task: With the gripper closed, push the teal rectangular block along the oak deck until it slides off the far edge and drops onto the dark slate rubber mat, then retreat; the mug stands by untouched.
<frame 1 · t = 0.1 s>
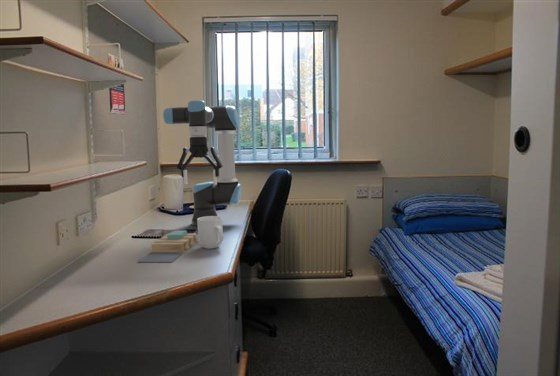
hand: (200, 184, 204), 28 cm above the table, fingers open, 13 cm apart
mug: (212, 247, 204), on the table
mat: (161, 257, 189), on the table
teal rectangular block: (177, 236, 208), point 4 cm above the table, touching deck
deck: (175, 247, 206), on the table
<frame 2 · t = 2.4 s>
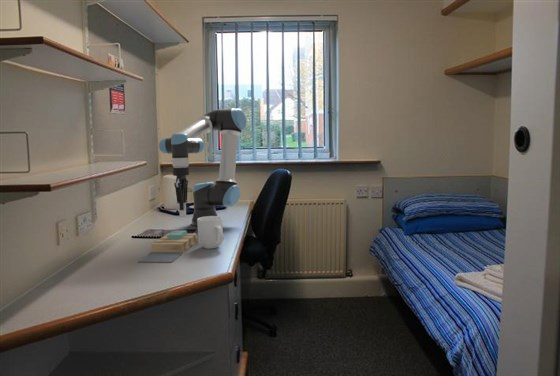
hand: (182, 216, 217), 12 cm above the table, fingers closed
nothing on the table moved.
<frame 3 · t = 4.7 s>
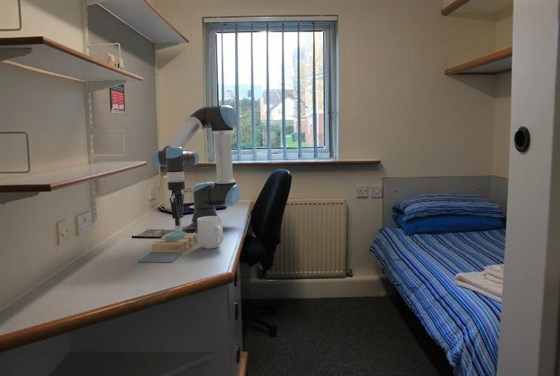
hand: (178, 232, 210), 6 cm above the table, fingers closed
teal rectangular block: (175, 238, 206), point 4 cm above the table
everything else where it was.
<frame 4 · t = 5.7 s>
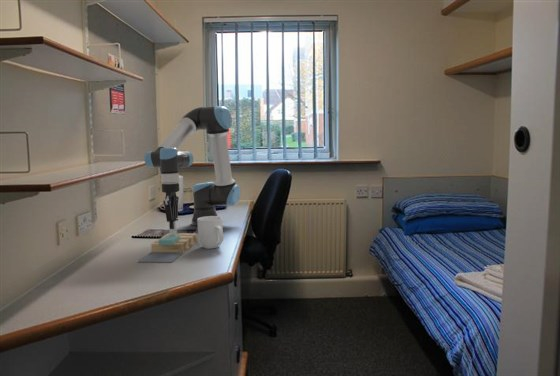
hand: (173, 235, 203), 6 cm above the table, fingers closed
teal rectangular block: (169, 242, 198), point 4 cm above the table, touching deck, gripper
everything else where it was.
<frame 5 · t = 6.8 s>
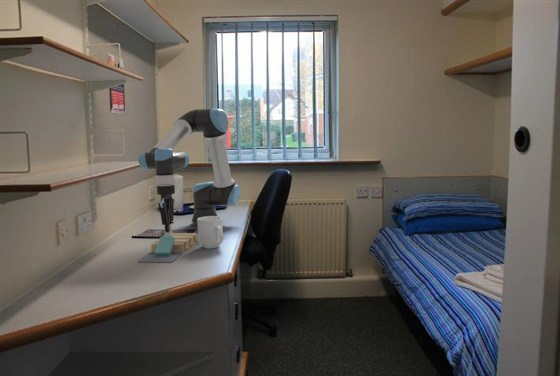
hand: (168, 239, 198), 6 cm above the table, fingers closed
teal rectangular block: (165, 247, 194), point 3 cm above the table, tilted 34°, touching gripper
everything else where it was.
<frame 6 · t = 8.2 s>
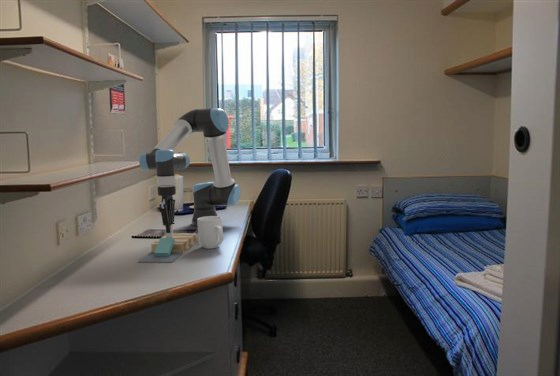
hand: (169, 239, 199), 5 cm above the table, fingers closed
teal rectangular block: (165, 248, 193), point 3 cm above the table, tilted 29°, touching deck, mat
everything else where it was.
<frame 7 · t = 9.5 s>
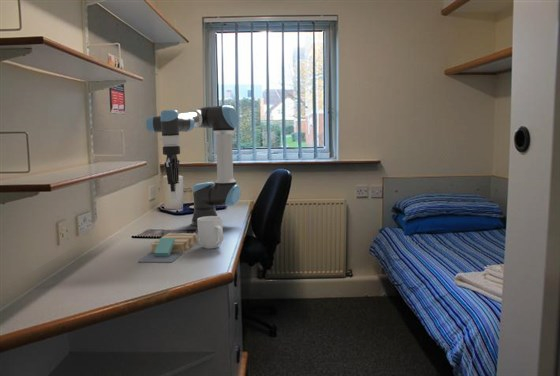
hand: (174, 198, 205), 22 cm above the table, fingers closed
nothing on the table moved.
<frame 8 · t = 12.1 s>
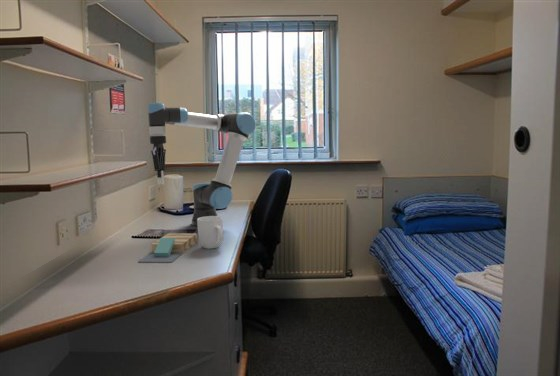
hand: (160, 184, 224), 26 cm above the table, fingers closed
nothing on the table moved.
at the end: teal rectangular block point 2.6 cm above the table; teal rectangular block inside the target area on the mat (4.5 cm from its centre), point 2.6 cm above the mat's base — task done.
